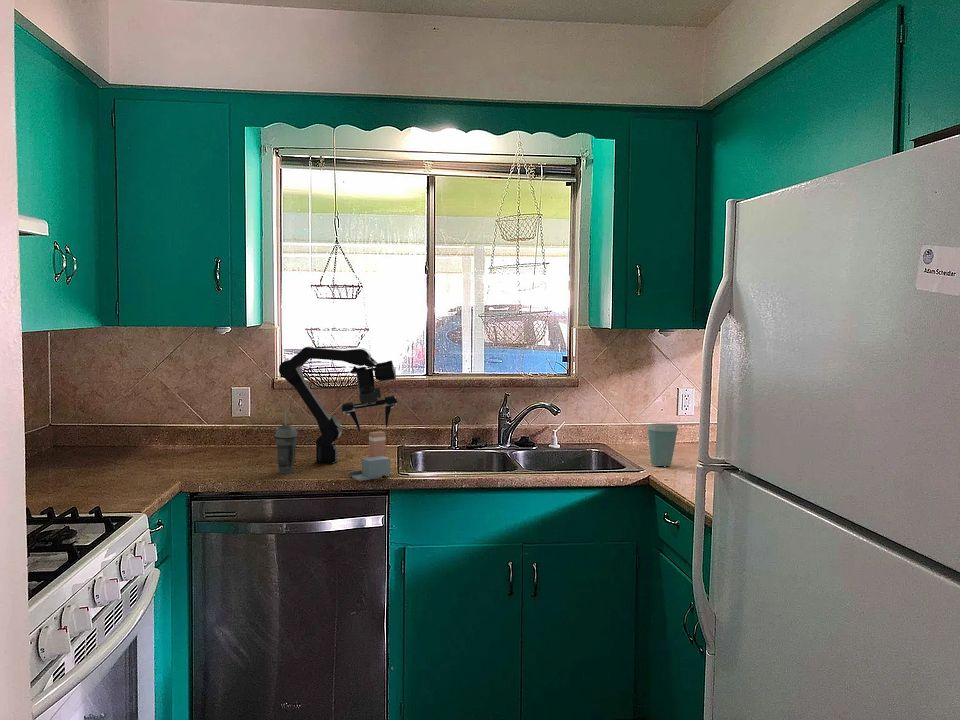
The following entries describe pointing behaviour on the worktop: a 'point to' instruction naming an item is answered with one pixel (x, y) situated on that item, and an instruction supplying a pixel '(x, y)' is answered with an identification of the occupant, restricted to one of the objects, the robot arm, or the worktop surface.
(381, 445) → the pink bottle
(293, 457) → the beverage cup
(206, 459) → the worktop surface
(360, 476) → the dispenser
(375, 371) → the robot arm
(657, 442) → the disposable coffee cup
